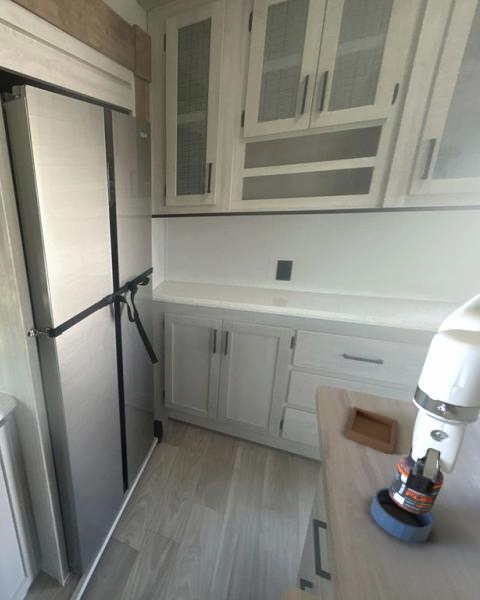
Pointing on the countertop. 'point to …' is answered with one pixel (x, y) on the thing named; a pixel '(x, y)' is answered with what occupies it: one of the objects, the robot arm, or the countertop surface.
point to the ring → (397, 526)
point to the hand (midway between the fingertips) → (417, 477)
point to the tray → (372, 430)
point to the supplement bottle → (409, 497)
